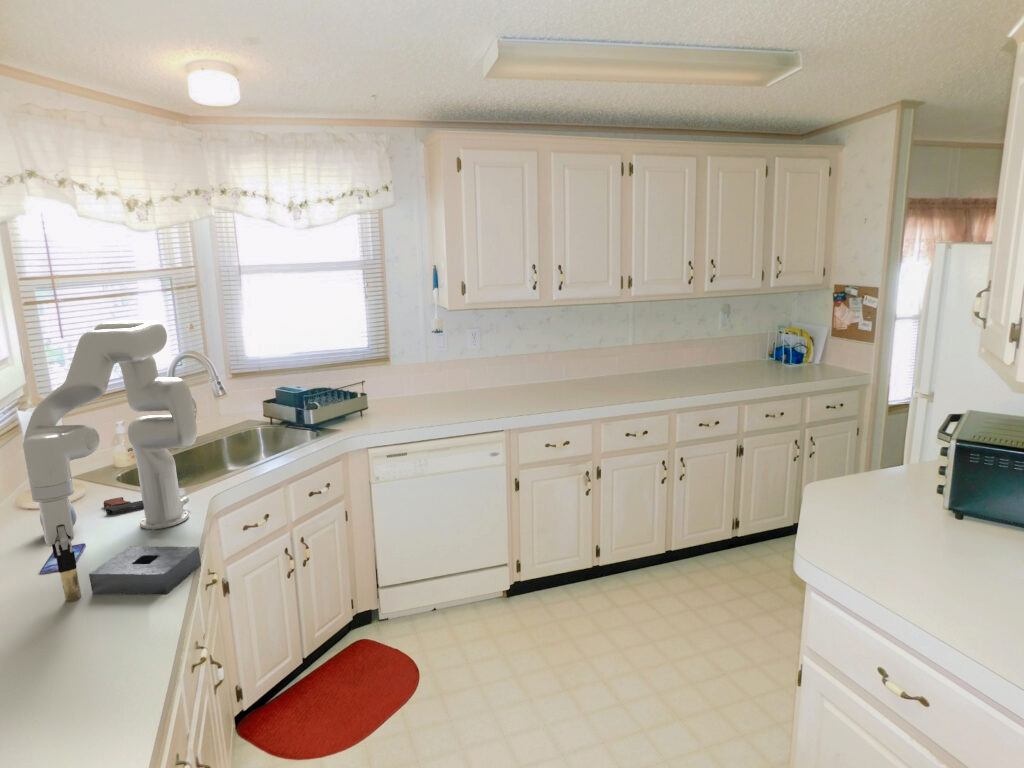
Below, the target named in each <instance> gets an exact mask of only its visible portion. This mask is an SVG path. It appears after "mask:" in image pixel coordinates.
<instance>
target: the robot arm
mask: <svg viewBox="0 0 1024 768" xmlns="http://www.w3.org/2000/svg"><path fill="white" fill-rule="evenodd" d="M167 339H168V334H167V330H166V328H165V326H164V325H163V324H162V323H160V322H159V321H157V320H152V319H150V320H145V319H142V320H119V321H118V320H116V321H106V322H102V323H99V324H97V325H96V326H95V327H94V329H93V330H89V331H87V332H85V333H83V334H82V335H81V337H80V338H79V340H78V343H77V345H76V347H75V351H74V355H73V357H72V360H71V362H70V366H69V369H68V372H67V374H66V378H65V381H63V383H62V384H61V385H60V386H58V387H57V388H56V389H54V390H52V392H51V393H50V394H48V395H47V396H46V397H45V398H44V399H43V400H42V401H40V403H38V405H37V406H36V407H35V408H34V410H33V412H32V413H31V416H30V418H29V420H28V424H27V427H26V430H25V433H24V437H23V438H24V439H23V443H22V446H23V447H22V448H23V449H22V450H23V453H24V459H25V460H24V461H25V465H26V471H27V476H28V482H29V488H30V493H31V498H32V502H35V503H38V507H39V516H40V515H41V521H42V525H41V527H42V532H43V538H44V541H45V544H46V546H48V547H51V546H52V552H53V554H54V558H56V559H57V564H58V570H59V571H58V573H62V572H66V571H70V570H73V569H77V563H76V560H75V554H74V551H73V549H72V545H73V544H72V541H73V540H74V526H73V524H72V516H71V509H70V503H71V502H70V497H71V496H72V495H74V494H75V488H74V482H73V476H72V471H71V464H70V462H71V461H74V460H78V459H83V458H86V457H88V456H90V455H92V454H93V453H94V452H95V451H97V449H98V447H99V444H100V434H99V432H98V431H97V430H96V429H95V428H94V427H92V426H90V425H86V424H70V425H69V424H68V425H67V424H65V425H64V424H63V425H62V424H61V425H57V424H58V422H59V421H60V420H61V419H62V418H63V417H64V416H65V415H66V414H68V413H69V412H71V411H73V410H74V409H76V408H80V407H82V406H84V405H86V404H88V403H91V402H92V401H94V400H97V399H99V398H101V397H103V395H104V394H105V393H106V392H107V389H108V386H109V382H110V379H111V375H112V372H113V370H114V369H113V368H114V365H116V364H118V365H119V367H120V370H121V374H122V380H123V384H124V389H125V393H126V399H127V403H128V405H129V408H130V409H131V410H132V411H134V412H136V413H161V412H169V414H156V415H154V414H152V415H151V414H150V415H144V416H143V415H142V416H140V417H139V416H138V417H137V418H134V419H133V420H131V422H130V423H128V427H127V437H128V440H129V443H130V445H131V448H132V450H133V454H134V458H135V462H136V469H137V472H138V481H139V486H140V492H141V497H142V498H141V499H142V500H141V501H143V506H144V509H143V511H144V517H142V518H141V519H140V521H139V525H140V528H142V529H146V530H160V529H161V530H162V529H167V528H170V527H174V526H176V525H179V524H181V523H183V522H184V521H186V520H187V519H188V518H189V516H190V514H189V511H188V510H186V509H184V505H186V504H188V503H189V502H190V499H189V497H187V496H184V497H182V498H181V495H180V494H181V493H180V488H179V481H178V476H177V475H178V473H177V467H176V461H175V458H174V456H173V455H172V453H171V452H170V451H169V450H168V449H178V448H179V449H181V448H187V447H190V446H192V445H193V444H194V443H195V442H196V440H197V435H198V429H197V428H198V427H197V422H196V416H195V409H194V403H193V397H192V393H191V392H192V391H191V388H190V386H189V385H188V383H187V382H186V380H184V379H183V378H180V377H176V376H174V377H173V376H172V377H171V376H170V377H161V376H160V375H159V371H158V367H157V362H156V360H155V357H154V356H153V355H156V354H158V353H159V352H161V351H162V350H163V349H164V348H165V346H166V344H167V341H168V340H167ZM69 502H70V503H69Z"/></svg>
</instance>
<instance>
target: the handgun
mask: <svg viewBox="0 0 1024 768" xmlns="http://www.w3.org/2000/svg"><path fill="white" fill-rule="evenodd" d="M103 508H104V509H105V508H106V509H105V512H106V516H107V515H108V516H109V515H110V516H111V515H118V514H124V513H128V512H133V511H137V510H144V506H143V500H137V501H133V502H131V501H130V500H129V501H127V500H124V497H122V496H121V497H115V498H110V499H107V500H104V501H103Z"/></svg>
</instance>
